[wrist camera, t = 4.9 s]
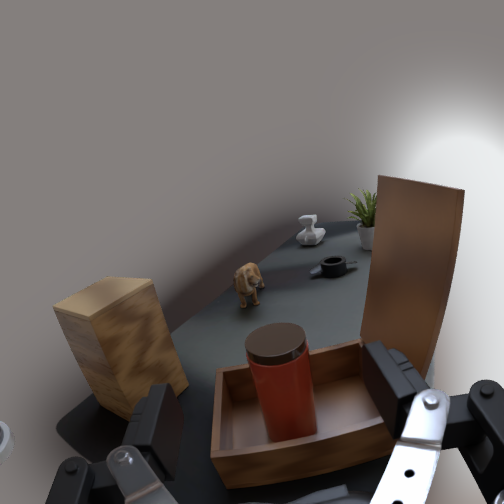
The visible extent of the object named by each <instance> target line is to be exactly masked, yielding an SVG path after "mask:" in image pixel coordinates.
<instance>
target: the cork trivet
mask: <svg viewBox="0 0 504 504" xmlns="http://www.w3.org/2000/svg"><path fill="white" fill-rule="evenodd" d="M151 284H153V282H152V279H141V278H124V277H109V276H107V277H106V278H104V279H102V280H100V281H98V282H96V283H94V284H92V285H91V286H88V287H87V288H85V289H83V290H81V291H79V292H77V293H75V294H74V295H72V296H70V297H68V298H66V299H64V300H62V301H61V302H59V303H57V304H55V305H53V309H54V310H56V311H59V312H62V313H65V314H68V315H71V316H75V317H78V318H81V319H84V320H88V321H91V320H93V319H95V318H96V317H98V316H100V315H101V314H103V313H105V312H106V311H108V310H110V309H111V308H113V307H114V306H116V305H118V304H119V303H121V302H123V301H124V300H126V299H128V298H129V297H131V296H133V295H134V294H136V293H138V292H139V291H141V290H143V289H144V288H146V287H148V286H149V285H151Z"/></svg>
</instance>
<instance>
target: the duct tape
mask: <svg viewBox="0 0 504 504" xmlns="http://www.w3.org/2000/svg"><path fill="white" fill-rule="evenodd" d="M346 263H347V264H352V263H357V262H356V261H354V262H346V258H345V257H342V256H330V257H326V258H324V259H322V260H321V261H320V263H318V264H317V265H316V266H314V267H313V268H312V269H310V270H309V271H310V273H311V274H314V273H318V272H321V273H322V276H324V277H327V278H335V277H340V276H343V275H345V274H346V273H347V267H346Z"/></svg>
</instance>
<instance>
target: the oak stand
mask: <svg viewBox="0 0 504 504" xmlns="http://www.w3.org/2000/svg"><path fill="white" fill-rule="evenodd" d="M54 311H55V314H56V316H57V319H58V321H59V323H60V326H61V328H62V330H63V333H64V335H65V337H66V339H67V341H68V343H69V346H70V348H71V350H72V352H73V354H74V356H75V358H76V360H77V362H78V364H79V366H80V368H81V370H82V372H83V374H84V376H85V378H86V380H87V382H88V384H89V386H90V387H91V389H92V391H93V393H94V395H95V397H96V398H97V400H98V402H99V404H100V405H101V406H103V407H104V408H106V409H108V410H110V411H111V412H113V413H115V414H117V415H118V416H120V417H122V418H124V419H125V420H127V421H129V422H130V418H131V416H132V413H133V410H134V407H135V405H136V404H137V403H138V401H139V400H140V399H141V398H142V397H147V396H148V393H149V390H150V387H151V385H153V384H163V383H170V384H171V386H172V388H173V390H174V393H175V395H176V397H177V396H178V395H179V394H180V393H182V392H183V391H184V390H185V389H186V388H187V387H188V386H189V384H188V381H187V379H186V376H185V374H184V371H183V368H182V366H181V363H180V361H179V358H178V355H177V352H176V350H175V347H174V344H173V341H172V339H171V336H170V333H169V330H168V327H167V325H166V321H165V318H164V315H163V313H162V309H161V307H160V303H159V301H158V297H157V294H156V291H155V288H154V284H151V285H149V286H148V287H146V288H144V289H143V290H141V291H139V292H138V293H136V294H134V295H133V296H131V297H129V298H128V299H126V300H124V301H123V302H121V303H119V304H118V305H116V306H114V307H113V308H111V309H110V310H108V311H106V312H105V313H103V314H101V315H100V316H98V317H96V318H95V319H93V320H91V321H88V320H84V319H81V318H78V317H75V316H71V315H68V314H65V313H62V312H59V311H56V310H54Z"/></svg>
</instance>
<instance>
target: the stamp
mask: <svg viewBox="0 0 504 504" xmlns="http://www.w3.org/2000/svg"><path fill="white" fill-rule="evenodd" d="M299 222H300V223H301V225H303V226H304V225H305V227H306V229H305V230H303V231H302V232H300V233H299V234H298V235H297V240H298V241H299V242H300V243H302V245H316V244H317V243H319V242H320V241H321V240H322V238H323V236H324V234H325V230H324V229H323V228H314V223H316V222H317V216H316V215H304V216H302V217H301V218H299Z"/></svg>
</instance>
